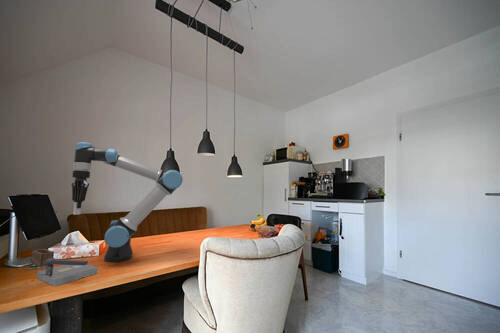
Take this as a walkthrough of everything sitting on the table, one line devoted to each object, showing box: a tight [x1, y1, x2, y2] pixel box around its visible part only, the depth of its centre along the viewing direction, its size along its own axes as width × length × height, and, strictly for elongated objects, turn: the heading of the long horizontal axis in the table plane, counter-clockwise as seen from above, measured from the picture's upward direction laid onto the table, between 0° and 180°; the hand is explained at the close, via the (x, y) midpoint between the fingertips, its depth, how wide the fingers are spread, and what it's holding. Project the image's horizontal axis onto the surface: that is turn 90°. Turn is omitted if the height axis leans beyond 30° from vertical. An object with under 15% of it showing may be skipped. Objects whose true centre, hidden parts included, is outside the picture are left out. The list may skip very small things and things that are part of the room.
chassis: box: [35, 263, 99, 287], centre depth 105 cm, size 17×18×7 cm
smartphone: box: [25, 264, 46, 271], centre depth 118 cm, size 8×15×1 cm, turn 29°
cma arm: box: [45, 257, 89, 266], centre depth 98 cm, size 19×3×2 cm, turn 87°
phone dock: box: [30, 248, 55, 267], centre depth 119 cm, size 5×12×7 cm, turn 63°
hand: (76, 214), depth 115 cm, fingers closed
